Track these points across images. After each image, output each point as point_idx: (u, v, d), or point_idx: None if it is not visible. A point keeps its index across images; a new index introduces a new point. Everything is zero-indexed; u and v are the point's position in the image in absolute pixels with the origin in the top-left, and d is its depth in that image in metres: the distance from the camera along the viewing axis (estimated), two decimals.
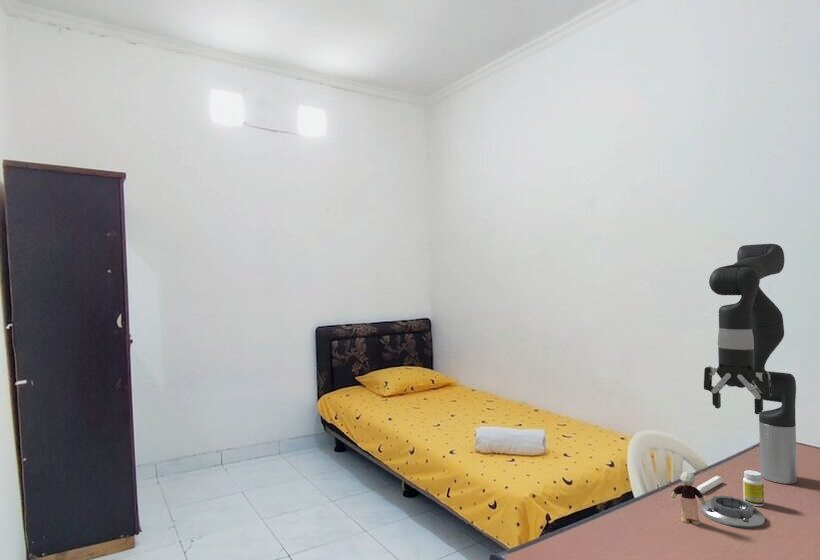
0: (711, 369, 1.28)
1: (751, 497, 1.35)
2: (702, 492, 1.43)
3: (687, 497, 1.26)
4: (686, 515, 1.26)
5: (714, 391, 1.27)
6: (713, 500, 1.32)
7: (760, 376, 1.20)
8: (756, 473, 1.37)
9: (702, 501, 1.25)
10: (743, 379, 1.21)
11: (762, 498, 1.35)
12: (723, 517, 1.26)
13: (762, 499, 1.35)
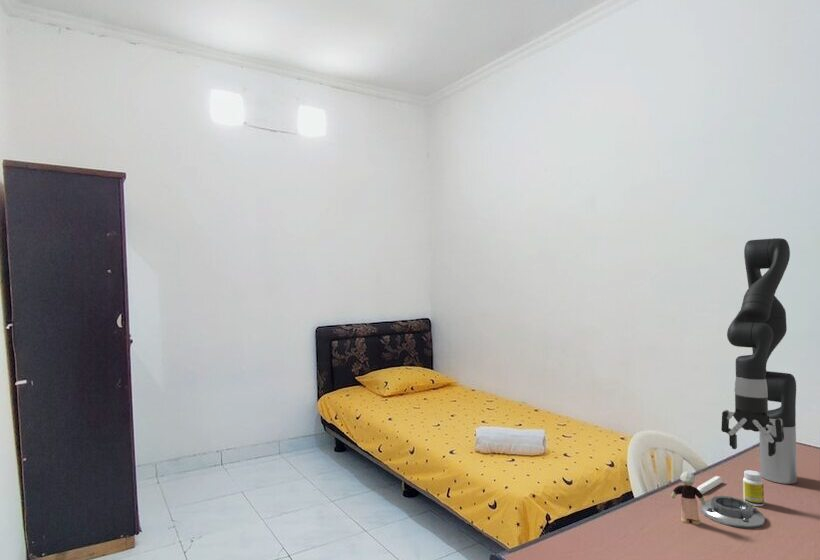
0: (728, 413, 1.41)
1: (751, 497, 1.35)
2: (702, 492, 1.43)
3: (687, 497, 1.26)
4: (686, 515, 1.26)
5: (731, 433, 1.40)
6: (713, 500, 1.32)
7: (773, 422, 1.34)
8: (756, 473, 1.37)
9: (702, 501, 1.25)
10: (758, 424, 1.35)
11: (762, 498, 1.35)
12: (723, 517, 1.26)
13: (762, 499, 1.35)
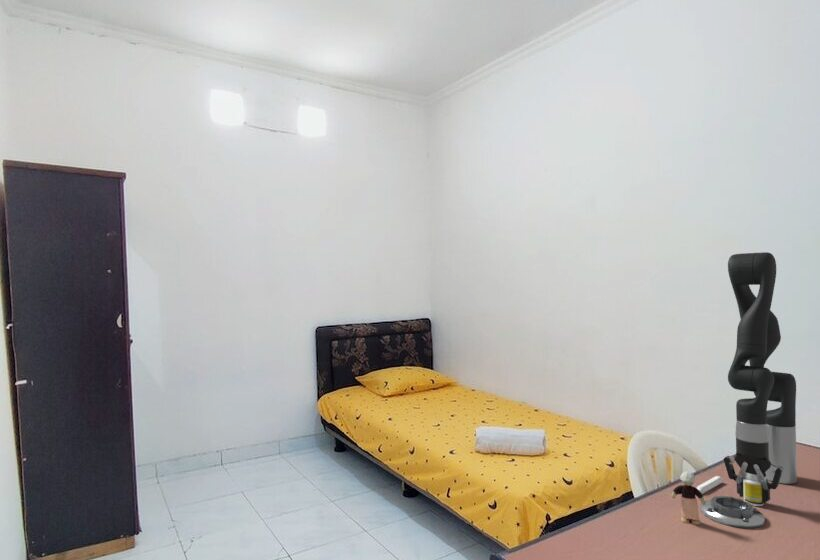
0: (729, 458, 1.41)
1: (751, 497, 1.35)
2: (702, 492, 1.43)
3: (687, 497, 1.26)
4: (686, 515, 1.26)
5: (738, 481, 1.39)
6: (713, 500, 1.32)
7: (773, 469, 1.33)
8: None
9: (702, 501, 1.25)
10: (758, 469, 1.35)
11: (762, 498, 1.35)
12: (723, 517, 1.26)
13: (762, 499, 1.35)
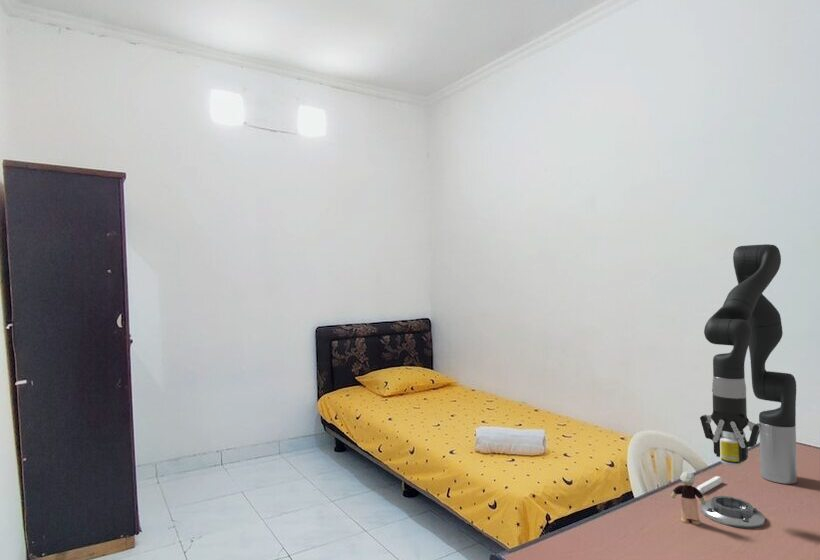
0: (706, 417, 1.34)
1: (728, 456, 1.28)
2: (702, 492, 1.43)
3: (687, 497, 1.26)
4: (686, 515, 1.26)
5: (715, 440, 1.32)
6: (713, 500, 1.32)
7: (751, 426, 1.26)
8: None
9: (702, 501, 1.25)
10: (735, 426, 1.28)
11: (739, 457, 1.28)
12: (723, 517, 1.26)
13: (739, 458, 1.28)
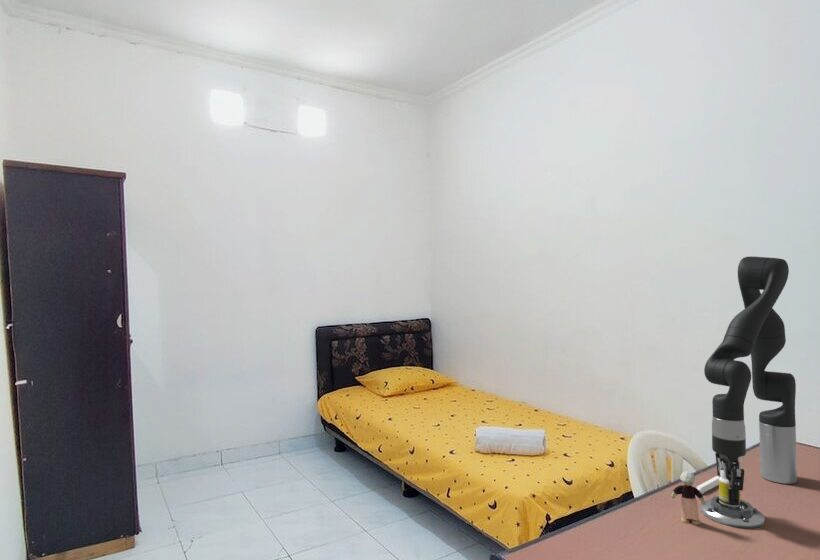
0: (720, 455, 1.36)
1: (719, 495, 1.31)
2: (702, 492, 1.43)
3: (687, 497, 1.26)
4: (686, 515, 1.26)
5: None
6: (713, 500, 1.32)
7: None
8: None
9: (702, 501, 1.25)
10: (723, 466, 1.29)
11: None
12: (723, 517, 1.26)
13: None
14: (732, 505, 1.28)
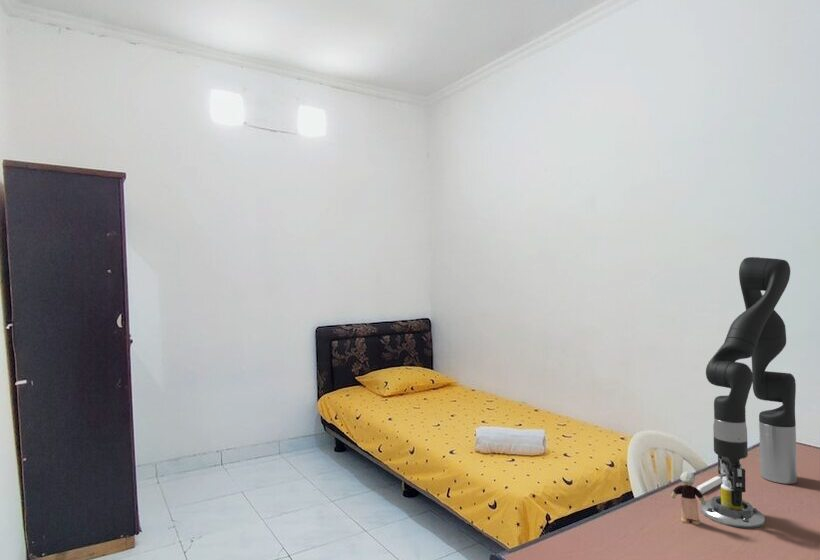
0: None
1: (721, 501, 1.30)
2: (701, 492, 1.43)
3: (687, 497, 1.26)
4: (686, 515, 1.26)
5: (720, 476, 1.34)
6: (713, 500, 1.32)
7: None
8: None
9: (702, 501, 1.25)
10: (724, 468, 1.29)
11: (731, 506, 1.28)
12: (723, 517, 1.26)
13: (731, 507, 1.28)
14: None
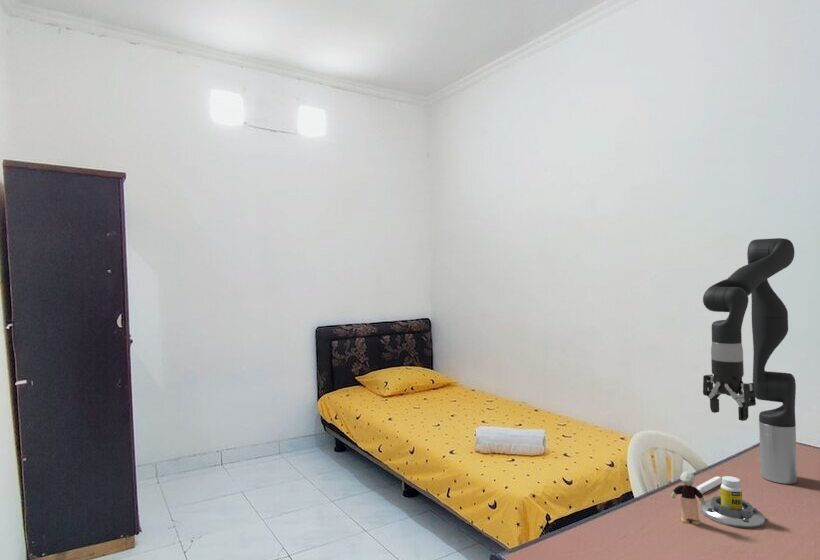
0: (709, 377, 1.42)
1: (721, 501, 1.30)
2: (701, 492, 1.43)
3: (687, 497, 1.26)
4: (686, 515, 1.26)
5: (710, 397, 1.41)
6: (713, 500, 1.32)
7: None
8: (732, 479, 1.29)
9: (702, 501, 1.25)
10: (729, 388, 1.35)
11: (731, 506, 1.28)
12: (723, 517, 1.26)
13: (731, 507, 1.28)
14: None
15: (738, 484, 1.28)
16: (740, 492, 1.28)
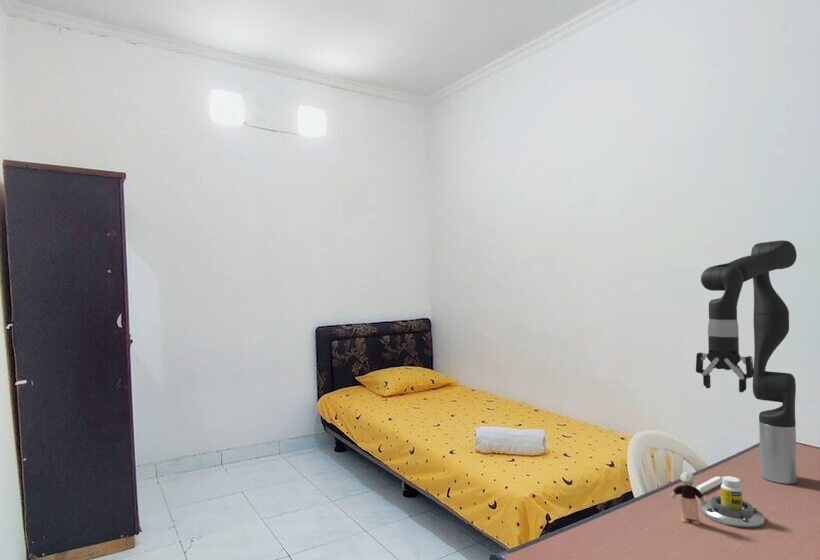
0: (702, 354, 1.48)
1: (721, 501, 1.30)
2: (701, 492, 1.43)
3: (687, 497, 1.26)
4: (686, 515, 1.26)
5: (705, 373, 1.47)
6: (713, 500, 1.32)
7: (744, 360, 1.40)
8: (732, 479, 1.29)
9: (702, 501, 1.25)
10: (729, 362, 1.42)
11: (731, 506, 1.28)
12: (723, 517, 1.26)
13: (731, 507, 1.28)
14: None
15: (738, 484, 1.28)
16: (740, 492, 1.28)
